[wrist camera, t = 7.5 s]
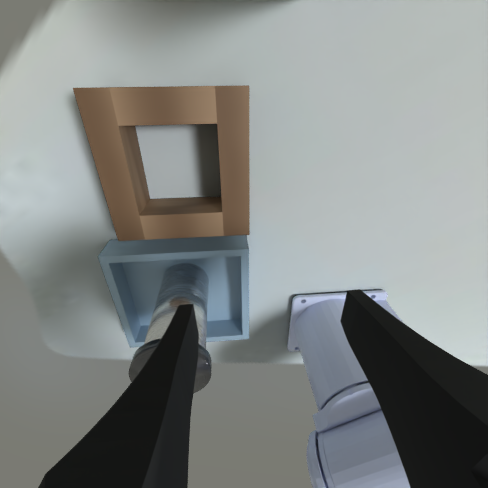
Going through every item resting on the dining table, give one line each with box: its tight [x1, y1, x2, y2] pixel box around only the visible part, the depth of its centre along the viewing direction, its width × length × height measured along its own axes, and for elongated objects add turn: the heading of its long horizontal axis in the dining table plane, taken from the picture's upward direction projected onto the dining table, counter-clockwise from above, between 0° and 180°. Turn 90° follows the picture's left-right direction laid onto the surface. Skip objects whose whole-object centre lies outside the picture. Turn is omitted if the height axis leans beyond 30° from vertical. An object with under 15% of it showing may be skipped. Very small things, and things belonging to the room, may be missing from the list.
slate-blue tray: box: [98, 235, 249, 347], centre depth 23 cm, size 11×10×2 cm
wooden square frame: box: [73, 86, 249, 241], centre depth 17 cm, size 9×9×3 cm
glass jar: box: [129, 263, 211, 393], centre depth 19 cm, size 5×5×9 cm
